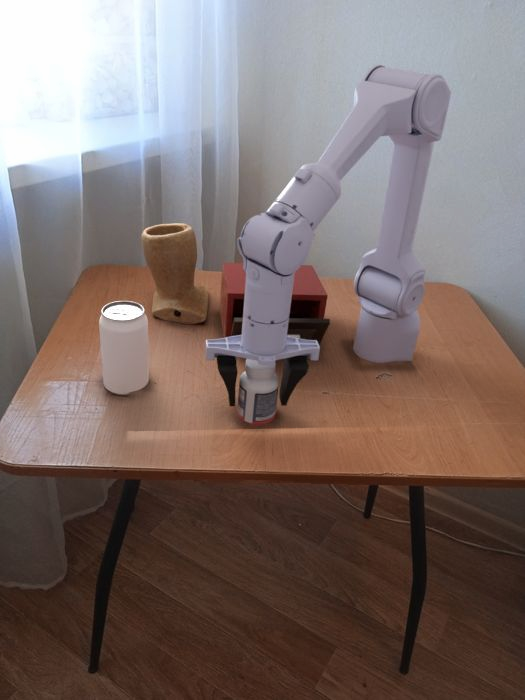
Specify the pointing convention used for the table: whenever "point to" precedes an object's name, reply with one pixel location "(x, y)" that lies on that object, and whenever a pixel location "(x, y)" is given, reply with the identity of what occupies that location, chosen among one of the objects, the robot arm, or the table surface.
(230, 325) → the oven
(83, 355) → the table surface
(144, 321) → the can
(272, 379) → the pill bottle
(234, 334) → the oven door
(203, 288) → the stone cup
